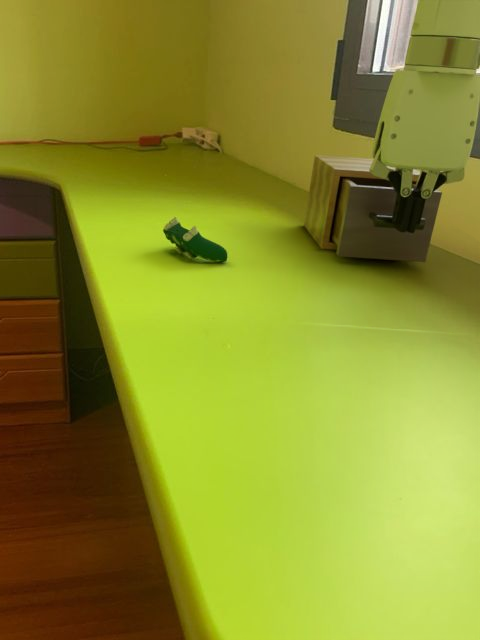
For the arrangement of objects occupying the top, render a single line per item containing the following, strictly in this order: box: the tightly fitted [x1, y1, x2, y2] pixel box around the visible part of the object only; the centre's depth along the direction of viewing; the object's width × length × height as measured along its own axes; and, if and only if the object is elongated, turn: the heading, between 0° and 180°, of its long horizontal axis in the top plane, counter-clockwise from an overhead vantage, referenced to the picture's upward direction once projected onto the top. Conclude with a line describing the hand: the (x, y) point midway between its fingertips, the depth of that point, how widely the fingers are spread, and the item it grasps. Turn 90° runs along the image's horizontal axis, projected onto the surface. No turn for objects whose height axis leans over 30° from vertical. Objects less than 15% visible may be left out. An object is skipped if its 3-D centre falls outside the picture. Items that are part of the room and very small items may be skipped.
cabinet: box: [303, 154, 421, 251], centre depth 103 cm, size 16×13×11 cm
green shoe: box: [162, 216, 228, 263], centre depth 89 cm, size 9×4×6 cm
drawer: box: [330, 176, 443, 263], centre depth 93 cm, size 19×12×9 cm, turn 178°
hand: (403, 230), depth 83 cm, fingers closed
